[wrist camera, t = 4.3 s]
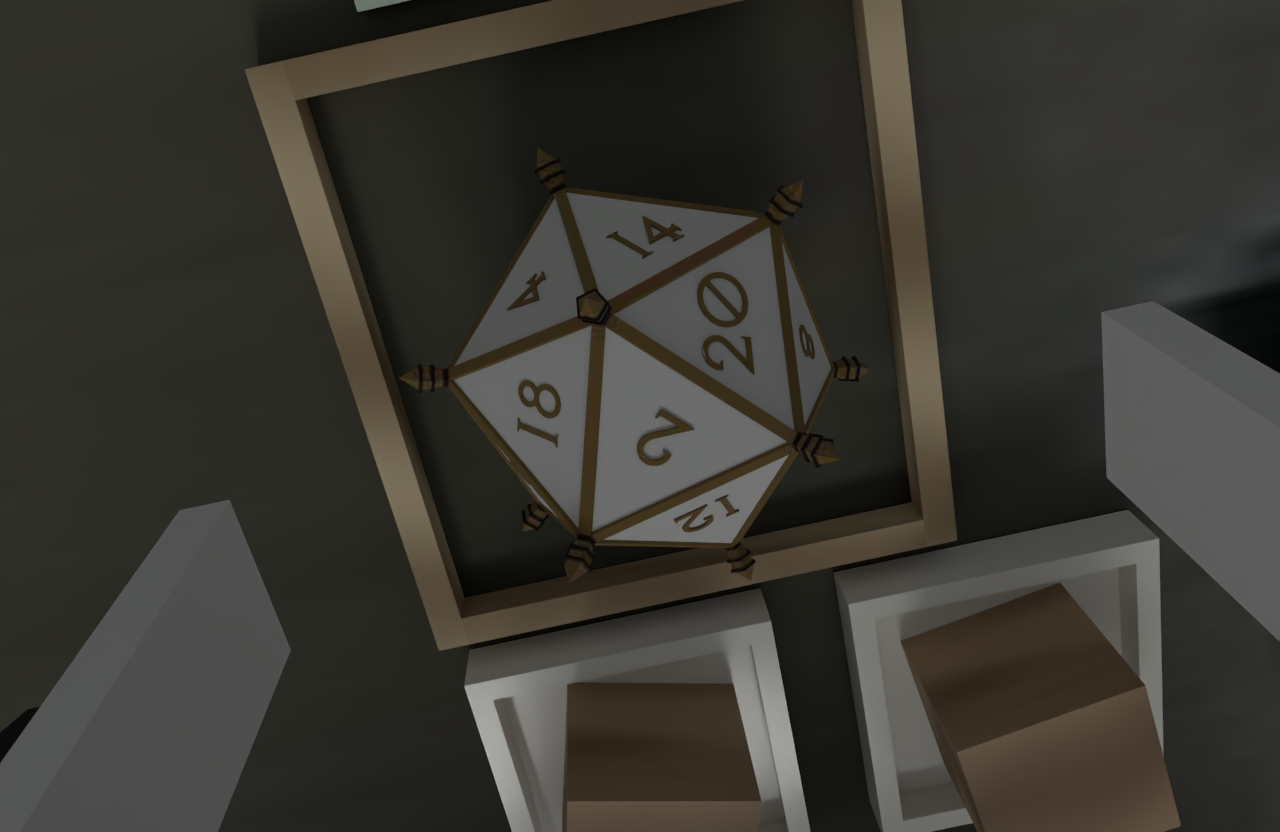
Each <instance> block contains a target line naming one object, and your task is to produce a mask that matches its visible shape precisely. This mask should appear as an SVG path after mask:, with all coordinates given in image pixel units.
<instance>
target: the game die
mask: <svg viewBox="0 0 1280 832" xmlns="http://www.w3.org/2000/svg"><path fill="white" fill-rule="evenodd" d="M559 162H560V159H555V158H554V157H552V156H551V155H549V154H547V153H546V152H544V151H543V150H541V149H540V148H538V147H537V163H536V170H535V171H534V173H535V174H536V173H538V175H539V177H540V179H541V180H542V181H540V183H541V185H542V184H544V185H545V186H546V187H547V188H548V189H549V190H550V194H551V196H550V197H549V199H548V201H547V202H546V204H545V206H544V207H543V209H542V211H541V212H540V214H539V216H538V218H537V219H536V221H535V223H534V224H533V226H532V228H531V229H530V231H529V233H528V234H527V236H526V238H525V239H524V241H523V243H522V244H521V246H520V248H519V249H518V251H517V253H516V254H515V256H514V258H513V259H512V261H511V263H510V265H509V266H508V268H507V270H506V271H505V273H504V275H503V276H502V278H501V280H500V281H499V283H498V285H497V286H496V288H495V290H494V291H493V293H492V295H491V296H490V298H489V300H488V301H487V303H486V305H485V306H484V308H483V310H482V312H481V313H480V315H479V317H478V318H477V320H476V322H475V323H474V325H473V327H472V328H471V330H470V332H469V333H468V335H467V337H466V338H465V340H464V342H463V343H462V345H461V347H460V348H459V350H458V352H457V353H456V355H455V357H454V358H453V360H452V362H451V364H450V365H449V367H448V369H443V370H442V369H438V368H434V365H430V367H422V365H418V367H417V368H415V369H413V370H412V371H410V372H408V373H406V374H404V375H403V376H401V377H399V378H400V379H401V380H403V381H405V382H406V383H408V384H410V385H411V386H413V387H415V388H416V389H418V390H419V393H422V390H430V389H431V392H434V389H436V388H439V387H442V386H446V387H449V389H450V390H451V391H452V393H453V394H454V395H455V396H456V398H457V399H458V400H459V402H460V403H461V404H462V406H463V407H464V408H465V409H466V411H467V412H468V413H469V415H470V416H471V417H472V419H473V420H474V421H475V422H476V424H477V425H478V426H479V428H480V429H481V430H482V432H483V433H484V434H485V435H486V437H487V438H488V439H489V441H490V442H491V443H492V445H493V446H494V447H495V448H496V450H497V451H498V452H499V454H500V455H501V456H502V458H503V459H504V460H505V461H506V463H507V464H508V465H509V467H510V468H511V469H512V471H513V472H514V473H515V474H516V476H517V477H518V478H519V480H520V481H521V482H522V484H523V485H524V486H525V487H526V489H527V490H528V491H529V493H530V494H531V495H532V497H533V498H534V499H535V500H536V502H535V503H534V504H528V505H527V506H528V509H527V510H526V511H524V510H523V511H522V517H523V531H528V530H533V529H535V530H538V529H539V528H540V527H541V526H542V525H543V524H544V521H545V520H546V519H547V518H548V516H549V515H550V516H551V517H553V518H554V519H555V520H556V521H557V522H558V523H559V524H560V525H561V526H562V527H564V528H565V529H566V530H567V531H568V532H569V533H570V534H571V535H572V536H573V537H575V538H576V539H577V540H576V541H575V543H574V544H570V546H569V549H568V552H567V555H565V557H564V560H563V563H562V565H563V566H565V570H566V574H567V578H568V582H569V583H571V582H572V581H574V580H575V579H577V578H578V577H580V576H581V575H583V574H584V573H586V572H591V571H592V568H591V567H590V565H591V562H592V561H594V560H595V556H594V555H593V547H594V545H597V546H649V547H701V548H725V549H726V550H727V552H728V559H727V563H730V564H731V567H732V569H731V573H737V574H739V575H741V576H742V577H744V578H746V579H748V580H750V581H751V579H752V572H753V566H754V563H756V561H755V560H754V559H753V558H751V556H750V553H751V552H750V550H748V549H746V548H744V547H743V546H742V544H741V540H742V538H743V537H744V535H745V534H746V532H747V531H748V529H749V528H750V526H751V525H752V523H753V522H754V520H755V519H756V517H757V516H758V514H759V513H760V511H761V510H762V508H763V507H764V505H765V504H766V502H767V501H768V499H769V497H770V496H771V494H772V493H773V491H774V490H775V488H776V487H777V485H778V484H779V482H780V481H781V479H782V478H783V476H784V475H785V473H786V472H787V470H788V469H789V467H790V466H791V464H792V463H793V461H794V460H795V458H796V457H797V455H798V454H799V452H800V453H801V454H802V455H803V457H804V459H805V461H806V462H809V461H812V462H814V465H815V467H817V468H819V467H820V466H821V465H823V464H825V463H829V462H833V461H837V460H840V458H839V456H838V454H837V452H836V450H835V448H834V445H833V441H834V440H833V439H828V438H823V436H822V435H817V434H810V431H811V428H812V426H813V424H814V421H815V419H816V417H817V414H818V412H819V410H820V407H821V405H822V403H823V401H824V398H825V396H826V394H827V391H828V389H829V387H830V384H831V382H832V380H833V378H835V377H836V378H839V380H841V381H848V380H849V381H859V378H860V377H862V376H863V375H864V374H866V373H867V372H868V371H870V370H871V369H869V368H868V367H867V366H865V365H864V364H862V363H861V362H859V361H858V360H857V358H856V357H855V356H852V358H851V359H846V357H842V359H841V360H839V361H836V362H833V361H832V359H831V357H830V354H829V352H828V349H827V346H826V344H825V341H824V339H823V336H822V333H821V331H820V328H819V326H818V323H817V320H816V318H815V315H814V313H813V310H812V308H811V305H810V302H809V300H808V297H807V295H806V292H805V289H804V287H803V284H802V282H801V279H800V276H799V274H798V271H797V269H796V266H795V263H794V261H793V258H792V256H791V253H790V251H789V248H788V245H787V243H786V240H785V238H784V235H783V232H782V230H781V227H780V224H781V222H782V221H783V220H784V219H786V218H787V217H789V216H790V217H793V216H794V214H793V212H794V211H795V210H796V209H797V208H798V207H800V208H801V207H802V206H803V205H802V204H801V196H802V186H803V180H800V181H798V182H796V183H793V184H791V185H788V186H786V187H783V186H781V187H780V188H779V189H778V190H777V192H778V194H777V195H776V197H775V196H774V197H773V198H772V199H771V200H770V202H771V205H770V207H769V210H768V211H767V212H758V211H750V210H743V209H735V208H727V207H719V206H712V205H704V204H696V203H688V202H681V201H673V200H665V199H657V198H649V197H642V196H634V195H626V194H618V193H611V192H603V191H595V190H587V189H580V188H572V187H567V186H566V184H565V182H564V176H563V174H564V173H565V170H562V169H561V167H560V165H559ZM548 514H549V515H548Z"/></svg>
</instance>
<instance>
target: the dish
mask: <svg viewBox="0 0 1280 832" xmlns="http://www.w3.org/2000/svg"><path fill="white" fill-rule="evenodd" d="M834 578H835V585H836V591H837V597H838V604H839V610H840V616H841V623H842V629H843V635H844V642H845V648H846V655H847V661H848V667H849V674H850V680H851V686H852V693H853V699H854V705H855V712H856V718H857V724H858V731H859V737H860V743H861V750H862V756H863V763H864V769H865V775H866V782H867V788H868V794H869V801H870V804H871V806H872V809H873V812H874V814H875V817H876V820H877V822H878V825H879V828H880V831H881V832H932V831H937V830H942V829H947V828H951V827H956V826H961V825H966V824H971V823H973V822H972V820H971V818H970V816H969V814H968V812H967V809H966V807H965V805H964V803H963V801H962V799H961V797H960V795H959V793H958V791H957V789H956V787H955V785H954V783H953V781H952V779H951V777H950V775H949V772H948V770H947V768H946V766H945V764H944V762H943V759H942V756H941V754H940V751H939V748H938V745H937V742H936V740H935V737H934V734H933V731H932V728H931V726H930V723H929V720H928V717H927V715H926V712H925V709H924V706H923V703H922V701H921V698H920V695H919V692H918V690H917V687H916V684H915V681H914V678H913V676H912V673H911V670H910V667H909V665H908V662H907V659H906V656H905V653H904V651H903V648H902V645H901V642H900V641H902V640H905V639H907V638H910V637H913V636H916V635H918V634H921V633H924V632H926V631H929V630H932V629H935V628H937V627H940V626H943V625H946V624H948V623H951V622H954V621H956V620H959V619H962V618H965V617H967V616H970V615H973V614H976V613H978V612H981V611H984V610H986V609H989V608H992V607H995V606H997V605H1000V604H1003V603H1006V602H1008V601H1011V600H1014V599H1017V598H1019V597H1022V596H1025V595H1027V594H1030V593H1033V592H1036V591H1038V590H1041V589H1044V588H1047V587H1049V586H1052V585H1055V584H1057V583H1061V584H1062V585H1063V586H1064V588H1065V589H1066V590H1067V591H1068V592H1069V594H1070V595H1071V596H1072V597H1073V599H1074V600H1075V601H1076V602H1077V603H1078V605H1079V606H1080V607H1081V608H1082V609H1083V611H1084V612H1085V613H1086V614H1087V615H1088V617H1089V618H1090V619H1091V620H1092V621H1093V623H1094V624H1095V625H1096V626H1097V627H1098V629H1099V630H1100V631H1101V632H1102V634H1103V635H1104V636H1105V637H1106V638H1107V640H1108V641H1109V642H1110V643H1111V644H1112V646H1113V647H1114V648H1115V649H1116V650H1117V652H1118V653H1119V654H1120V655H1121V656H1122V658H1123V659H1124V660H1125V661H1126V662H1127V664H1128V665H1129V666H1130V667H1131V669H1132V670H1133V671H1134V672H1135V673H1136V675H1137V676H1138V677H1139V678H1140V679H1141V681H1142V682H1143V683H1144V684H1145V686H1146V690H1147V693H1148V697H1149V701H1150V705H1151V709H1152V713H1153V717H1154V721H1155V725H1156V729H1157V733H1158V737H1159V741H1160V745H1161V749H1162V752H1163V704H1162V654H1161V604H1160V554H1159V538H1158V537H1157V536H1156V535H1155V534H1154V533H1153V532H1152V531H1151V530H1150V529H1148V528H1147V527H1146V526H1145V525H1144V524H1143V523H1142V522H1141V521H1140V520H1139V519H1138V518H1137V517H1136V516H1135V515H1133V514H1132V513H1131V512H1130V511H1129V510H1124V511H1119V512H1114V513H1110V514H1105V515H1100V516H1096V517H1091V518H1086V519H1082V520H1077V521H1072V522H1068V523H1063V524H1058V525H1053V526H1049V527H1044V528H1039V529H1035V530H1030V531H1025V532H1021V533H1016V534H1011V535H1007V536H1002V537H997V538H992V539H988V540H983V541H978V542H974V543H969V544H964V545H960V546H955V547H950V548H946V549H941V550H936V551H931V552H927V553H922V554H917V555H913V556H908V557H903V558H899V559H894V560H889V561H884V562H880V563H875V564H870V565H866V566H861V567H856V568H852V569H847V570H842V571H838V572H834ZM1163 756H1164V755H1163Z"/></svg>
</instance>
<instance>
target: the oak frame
mask: <svg viewBox="0 0 1280 832" xmlns="http://www.w3.org/2000/svg"><path fill="white" fill-rule="evenodd" d="M739 1H743V0H551V1H546V2H542V3H537V4H533V5H528V6H524V7H519V8H515V9H511V10H506V11H502V12H497V13H493V14H488V15H484V16H479V17H475V18H470V19H466V20H461V21H457V22H452V23H448V24H444V25H439V26H435V27H430V28H426V29H421V30H417V31H412V32H408V33H403V34H399V35H394V36H390V37H386V38H381V39H377V40H372V41H368V42H363V43H359V44H354V45H350V46H345V47H341V48H336V49H332V50H327V51H323V52H319V53H314V54H310V55H305V56H301V57H296V58H292V59H287V60H283V61H278V62H274V63H269V64H265V65H261V66H256V67H252V68H248V69H245V72H246V75H247V78H248V81H249V84H250V87H251V90H252V93H253V96H254V99H255V102H256V105H257V108H258V111H259V114H260V117H261V120H262V123H263V126H264V129H265V132H266V135H267V138H268V141H269V144H270V147H271V150H272V153H273V156H274V159H275V162H276V165H277V168H278V171H279V174H280V177H281V180H282V183H283V186H284V189H285V192H286V195H287V198H288V201H289V204H290V207H291V210H292V213H293V216H294V219H295V222H296V225H297V228H298V231H299V234H300V237H301V240H302V243H303V246H304V249H305V252H306V255H307V258H308V261H309V264H310V267H311V270H312V273H313V276H314V279H315V282H316V284H317V287H318V290H319V293H320V296H321V299H322V302H323V305H324V308H325V311H326V314H327V317H328V320H329V323H330V326H331V329H332V332H333V335H334V338H335V341H336V344H337V347H338V350H339V353H340V356H341V359H342V362H343V365H344V368H345V371H346V374H347V377H348V380H349V383H350V386H351V389H352V392H353V395H354V398H355V401H356V404H357V407H358V410H359V413H360V416H361V419H362V422H363V425H364V428H365V431H366V434H367V437H368V440H369V443H370V446H371V449H372V452H373V455H374V458H375V461H376V464H377V467H378V470H379V473H380V476H381V479H382V482H383V485H384V488H385V491H386V494H387V497H388V500H389V503H390V506H391V509H392V512H393V515H394V518H395V521H396V524H397V527H398V530H399V533H400V536H401V538H402V541H403V544H404V547H405V550H406V553H407V556H408V559H409V562H410V565H411V568H412V571H413V574H414V577H415V580H416V583H417V586H418V589H419V592H420V595H421V598H422V601H423V604H424V607H425V610H426V613H427V616H428V619H429V622H430V625H431V628H432V631H433V634H434V637H435V640H436V643H437V646H438V649H439V651H441V650H446V649H451V648H455V647H460V646H465V645H469V644H474V643H479V642H483V641H488V640H493V639H497V638H502V637H507V636H512V635H516V634H521V633H526V632H530V631H535V630H540V629H544V628H549V627H554V626H558V625H563V624H568V623H572V622H577V621H582V620H587V619H591V618H596V617H601V616H605V615H610V614H615V613H619V612H624V611H629V610H633V609H638V608H643V607H648V606H652V605H657V604H662V603H666V602H671V601H676V600H680V599H685V598H690V597H694V596H699V595H704V594H709V593H713V592H718V591H723V590H727V589H732V588H737V587H741V586H746V585H751V584H755V583H760V582H765V581H770V580H774V579H779V578H784V577H788V576H793V575H798V574H802V573H807V572H812V571H816V570H821V569H826V568H831V567H835V566H840V565H845V564H849V563H854V562H859V561H863V560H868V559H873V558H877V557H882V556H887V555H892V554H896V553H901V552H906V551H910V550H915V549H920V548H924V547H929V546H934V545H938V544H943V543H948V542H953V541H957V531H956V522H955V512H954V502H953V493H952V483H951V473H950V464H949V454H948V445H947V435H946V425H945V416H944V406H943V396H942V387H941V377H940V367H939V358H938V348H937V339H936V329H935V319H934V310H933V300H932V290H931V281H930V271H929V261H928V252H927V242H926V233H925V223H924V213H923V204H922V194H921V184H920V175H919V165H918V156H917V146H916V136H915V127H914V117H913V107H912V98H911V88H910V78H909V69H908V59H907V50H906V40H905V30H904V21H903V11H902V1H901V0H851V5H852V13H853V21H854V30H855V38H856V46H857V54H858V63H859V71H860V79H861V87H862V96H863V104H864V112H865V121H866V129H867V137H868V145H869V154H870V162H871V170H872V178H873V187H874V195H875V203H876V212H877V220H878V228H879V236H880V245H881V253H882V261H883V269H884V278H885V286H886V294H887V302H888V311H889V319H890V327H891V336H892V344H893V352H894V360H895V369H896V377H897V385H898V393H899V402H900V410H901V418H902V427H903V435H904V443H905V451H906V460H907V468H908V476H909V484H910V493H911V501H912V502H910V503H905V504H901V505H896V506H891V507H887V508H882V509H877V510H873V511H868V512H863V513H859V514H854V515H849V516H845V517H840V518H835V519H831V520H826V521H821V522H816V523H812V524H807V525H802V526H798V527H793V528H788V529H784V530H779V531H774V532H770V533H765V534H760V535H756V536H751V537H746V538H742V540H741V544H742V546H743V547H744V548H746V549H748V550H750V552H751V553H750V556H751V558H753V559H754V560H755V561H756V563H754V566H753V572H752V579H751V581H750V580H748V579H746V578H744V577H742V576H741V575H739V574H737V573H731V569H732V567H731V564H730V563H727V559H728V552H727V550H726V549H725V548H701V547H700V548H695V549H690V550H686V551H681V552H676V553H672V554H667V555H662V556H658V557H653V558H648V559H644V560H639V561H634V562H630V563H625V564H620V565H616V566H611V567H606V568H602V569H597V570H592V571H591V572H586V573H584V574H583V575H581V576H580V577H578V578H577V579H575V580H574V581H572V582H571V583H569V582H568V578H567V576H564V577H559V578H555V579H550V580H545V581H541V582H536V583H531V584H527V585H522V586H517V587H513V588H508V589H503V590H499V591H494V592H489V593H485V594H480V595H475V596H471V597H466V598H464V594H463V591H462V588H461V585H460V582H459V579H458V575H457V572H456V569H455V566H454V563H453V560H452V556H451V553H450V550H449V547H448V544H447V541H446V537H445V534H444V531H443V528H442V525H441V522H440V518H439V515H438V512H437V509H436V506H435V503H434V500H433V496H432V493H431V490H430V487H429V484H428V481H427V477H426V474H425V471H424V468H423V465H422V462H421V458H420V455H419V452H418V449H417V446H416V443H415V439H414V436H413V433H412V430H411V427H410V424H409V420H408V417H407V414H406V411H405V408H404V405H403V401H402V398H401V395H400V392H399V389H398V386H397V383H396V379H395V376H394V373H393V370H392V367H391V364H390V360H389V357H388V354H387V351H386V348H385V345H384V341H383V338H382V335H381V332H380V329H379V326H378V322H377V319H376V316H375V313H374V310H373V307H372V303H371V300H370V297H369V294H368V291H367V288H366V284H365V281H364V278H363V275H362V272H361V269H360V266H359V262H358V259H357V256H356V253H355V250H354V247H353V243H352V240H351V237H350V234H349V231H348V228H347V224H346V221H345V218H344V215H343V212H342V209H341V205H340V202H339V199H338V196H337V193H336V190H335V186H334V183H333V180H332V177H331V174H330V171H329V167H328V164H327V161H326V158H325V155H324V152H323V149H322V145H321V142H320V139H319V136H318V133H317V130H316V126H315V123H314V120H313V117H312V114H311V111H310V107H309V104H308V101H307V98H309V97H313V96H318V95H322V94H327V93H331V92H336V91H340V90H345V89H349V88H353V87H358V86H362V85H367V84H371V83H376V82H380V81H385V80H389V79H394V78H398V77H403V76H407V75H412V74H416V73H421V72H425V71H430V70H434V69H439V68H443V67H448V66H452V65H457V64H461V63H465V62H470V61H474V60H479V59H483V58H488V57H492V56H497V55H501V54H506V53H510V52H515V51H519V50H524V49H528V48H533V47H537V46H542V45H546V44H551V43H555V42H560V41H564V40H568V39H573V38H577V37H582V36H586V35H591V34H595V33H600V32H604V31H609V30H613V29H618V28H622V27H627V26H631V25H636V24H640V23H645V22H649V21H654V20H658V19H663V18H667V17H672V16H676V15H680V14H685V13H689V12H694V11H698V10H703V9H707V8H712V7H716V6H721V5H725V4H730V3H734V2H739Z"/></svg>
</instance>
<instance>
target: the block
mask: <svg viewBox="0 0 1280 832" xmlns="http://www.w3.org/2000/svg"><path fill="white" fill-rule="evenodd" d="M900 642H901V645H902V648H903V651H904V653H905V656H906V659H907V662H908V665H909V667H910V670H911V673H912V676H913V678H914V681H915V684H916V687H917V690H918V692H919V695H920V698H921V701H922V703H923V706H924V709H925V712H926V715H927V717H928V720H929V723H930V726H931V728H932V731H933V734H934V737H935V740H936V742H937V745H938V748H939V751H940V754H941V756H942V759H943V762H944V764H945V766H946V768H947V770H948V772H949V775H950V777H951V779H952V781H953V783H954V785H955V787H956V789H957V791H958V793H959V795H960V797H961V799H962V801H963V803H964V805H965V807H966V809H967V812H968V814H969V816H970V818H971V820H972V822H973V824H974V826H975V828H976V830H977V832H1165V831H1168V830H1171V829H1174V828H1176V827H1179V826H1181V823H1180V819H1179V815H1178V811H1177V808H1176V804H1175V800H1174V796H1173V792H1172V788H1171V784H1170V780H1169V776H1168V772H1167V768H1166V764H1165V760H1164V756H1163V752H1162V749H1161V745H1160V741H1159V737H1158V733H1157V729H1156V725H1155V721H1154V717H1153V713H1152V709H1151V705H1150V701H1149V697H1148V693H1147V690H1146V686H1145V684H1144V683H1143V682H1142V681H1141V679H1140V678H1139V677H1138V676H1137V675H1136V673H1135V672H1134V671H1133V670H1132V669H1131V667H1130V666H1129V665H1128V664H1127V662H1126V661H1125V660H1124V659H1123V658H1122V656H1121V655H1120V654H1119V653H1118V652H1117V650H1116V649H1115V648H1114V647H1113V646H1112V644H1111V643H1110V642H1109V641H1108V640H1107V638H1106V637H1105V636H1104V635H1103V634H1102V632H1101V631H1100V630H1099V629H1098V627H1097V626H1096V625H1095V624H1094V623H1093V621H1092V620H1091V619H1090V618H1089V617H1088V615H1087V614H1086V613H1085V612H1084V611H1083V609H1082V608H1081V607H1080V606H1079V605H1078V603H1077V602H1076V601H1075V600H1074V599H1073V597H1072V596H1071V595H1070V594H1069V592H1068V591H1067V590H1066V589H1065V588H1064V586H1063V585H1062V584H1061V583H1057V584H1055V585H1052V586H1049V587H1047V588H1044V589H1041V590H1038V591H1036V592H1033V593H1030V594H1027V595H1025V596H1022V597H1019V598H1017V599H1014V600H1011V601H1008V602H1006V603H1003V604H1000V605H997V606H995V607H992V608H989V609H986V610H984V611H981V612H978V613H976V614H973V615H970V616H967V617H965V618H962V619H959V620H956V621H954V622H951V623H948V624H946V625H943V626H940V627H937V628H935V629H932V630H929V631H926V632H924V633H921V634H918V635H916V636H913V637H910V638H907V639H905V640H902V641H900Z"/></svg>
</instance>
